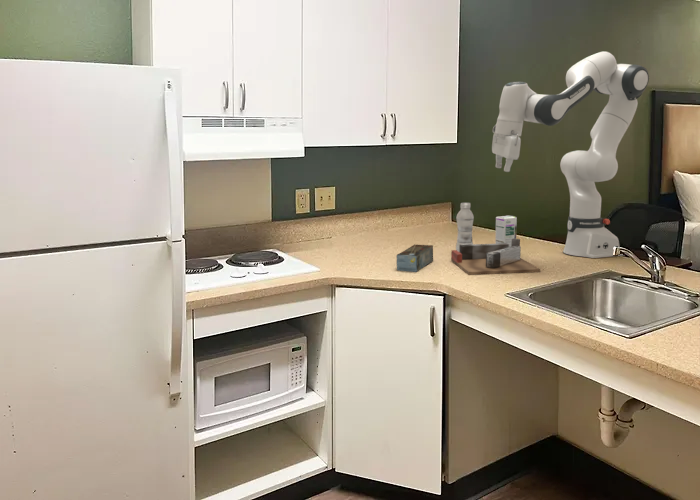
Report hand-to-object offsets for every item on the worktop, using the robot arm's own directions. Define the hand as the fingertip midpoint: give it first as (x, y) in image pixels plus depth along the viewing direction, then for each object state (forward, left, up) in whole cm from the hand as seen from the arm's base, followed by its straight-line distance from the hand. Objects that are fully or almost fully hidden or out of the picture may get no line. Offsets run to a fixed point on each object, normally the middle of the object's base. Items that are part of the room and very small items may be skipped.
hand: (502, 169), depth 219 cm
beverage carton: (+30, -3, -34) cm, 46 cm away
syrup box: (-8, -17, -34) cm, 39 cm away
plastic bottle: (+8, -18, -34) cm, 39 cm away
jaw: (0, +5, -33) cm, 33 cm away
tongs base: (+3, +3, -34) cm, 34 cm away
